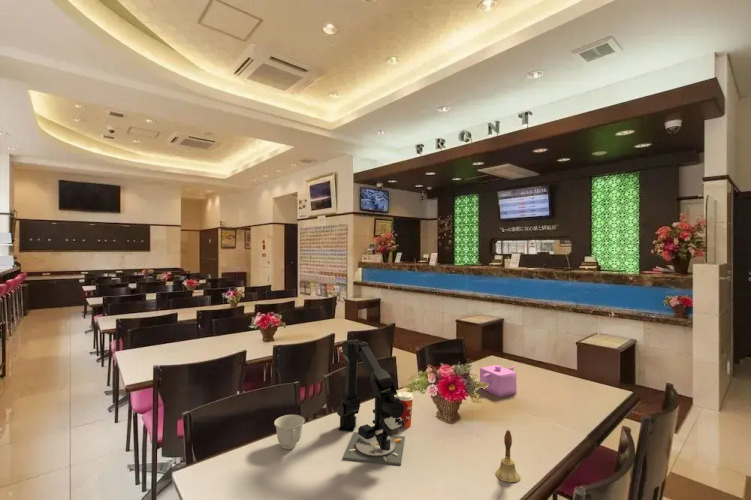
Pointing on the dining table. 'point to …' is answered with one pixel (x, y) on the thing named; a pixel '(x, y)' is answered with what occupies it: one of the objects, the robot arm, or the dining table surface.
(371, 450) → the dial
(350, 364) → the robot arm
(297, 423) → the teacup
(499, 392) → the teapot
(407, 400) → the paper cup
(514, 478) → the hand bell
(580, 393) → the dining table surface
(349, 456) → the grey dial base plate
